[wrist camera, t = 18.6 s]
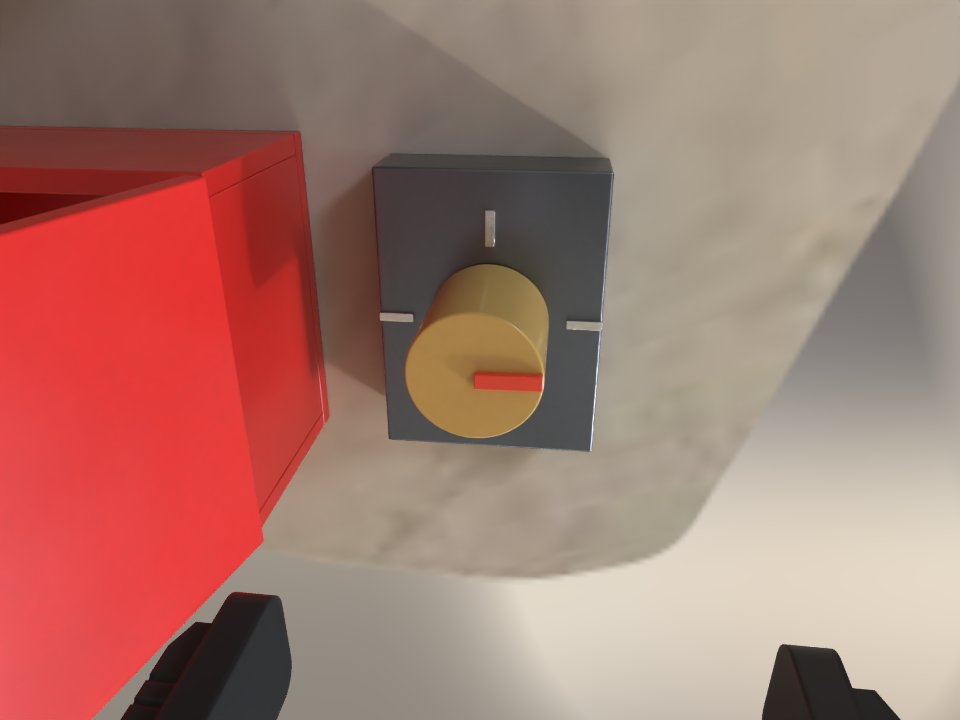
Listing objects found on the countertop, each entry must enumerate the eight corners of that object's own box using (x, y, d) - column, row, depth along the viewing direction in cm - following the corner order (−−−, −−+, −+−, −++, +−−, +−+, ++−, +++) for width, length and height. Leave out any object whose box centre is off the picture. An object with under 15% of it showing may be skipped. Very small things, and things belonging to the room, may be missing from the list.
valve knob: (433, 372, 30) (406, 440, 25) (427, 262, 28) (397, 314, 23) (547, 375, 30) (543, 446, 25) (550, 264, 28) (545, 317, 23)
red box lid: (-293, 1072, 13) (-83, 1229, 12) (-885, 460, 8) (-639, 589, 6) (246, 536, 27) (379, 571, 26) (184, 174, 22) (350, 188, 20)
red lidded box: (36, 399, 37) (-109, 502, 29) (-47, 125, 31) (-255, 161, 23) (329, 417, 36) (260, 531, 28) (300, 131, 30) (202, 172, 22)
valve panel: (389, 153, 30) (370, 167, 27) (610, 157, 29) (614, 173, 26) (402, 407, 35) (387, 442, 32) (590, 418, 34) (591, 454, 31)
